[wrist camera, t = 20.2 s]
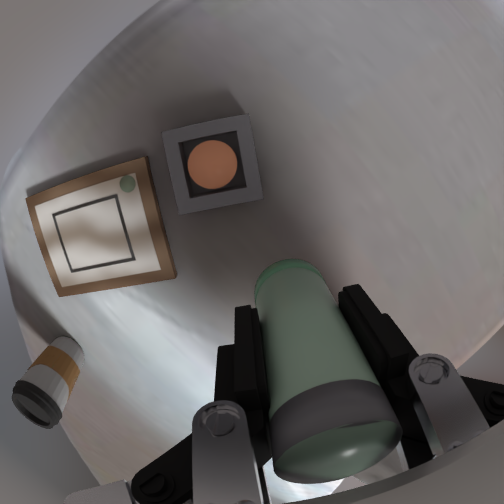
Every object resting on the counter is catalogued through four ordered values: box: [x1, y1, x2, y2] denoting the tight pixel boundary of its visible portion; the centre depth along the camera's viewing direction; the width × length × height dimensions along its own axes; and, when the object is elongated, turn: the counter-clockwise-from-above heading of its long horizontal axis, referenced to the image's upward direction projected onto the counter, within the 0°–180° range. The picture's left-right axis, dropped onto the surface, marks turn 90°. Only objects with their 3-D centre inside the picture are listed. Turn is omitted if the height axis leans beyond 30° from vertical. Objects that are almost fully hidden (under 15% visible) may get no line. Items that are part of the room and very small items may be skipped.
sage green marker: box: [254, 259, 403, 484], centre depth 9 cm, size 3×3×8 cm
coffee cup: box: [12, 336, 84, 429], centre depth 34 cm, size 8×8×15 cm
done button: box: [188, 140, 237, 189], centre depth 30 cm, size 5×5×2 cm
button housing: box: [161, 114, 264, 215], centre depth 30 cm, size 9×9×3 cm
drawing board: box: [26, 156, 177, 297], centre depth 33 cm, size 15×19×1 cm
